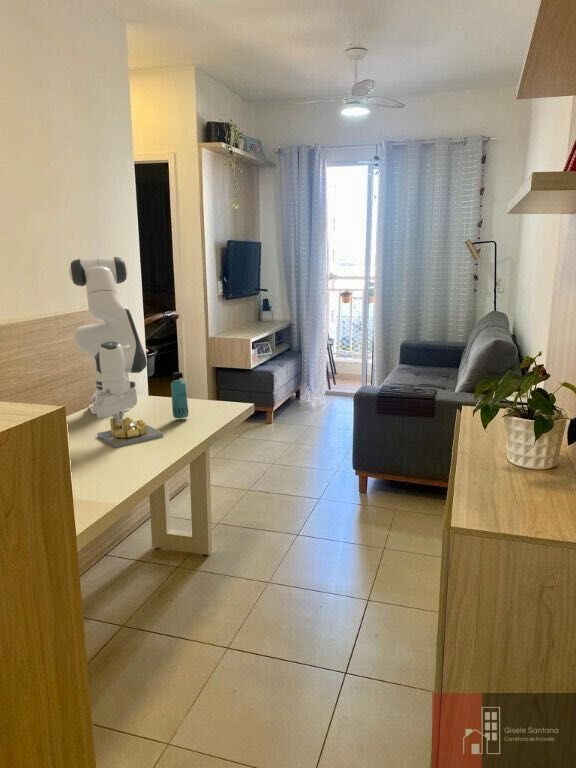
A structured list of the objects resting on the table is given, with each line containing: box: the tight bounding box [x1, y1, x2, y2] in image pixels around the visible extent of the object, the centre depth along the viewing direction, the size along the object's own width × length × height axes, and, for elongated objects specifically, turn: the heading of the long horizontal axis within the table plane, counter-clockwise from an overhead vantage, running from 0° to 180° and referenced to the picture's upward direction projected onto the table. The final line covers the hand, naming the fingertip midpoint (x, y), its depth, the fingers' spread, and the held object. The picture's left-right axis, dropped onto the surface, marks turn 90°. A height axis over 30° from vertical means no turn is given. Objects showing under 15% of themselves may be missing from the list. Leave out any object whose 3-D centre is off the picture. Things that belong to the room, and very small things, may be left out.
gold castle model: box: [96, 422, 164, 449], centre depth 213 cm, size 18×19×5 cm
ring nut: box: [109, 417, 148, 438], centre depth 212 cm, size 13×12×7 cm
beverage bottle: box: [170, 371, 190, 419], centre depth 232 cm, size 6×7×20 cm
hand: (119, 423), depth 208 cm, fingers closed, pressing on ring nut
